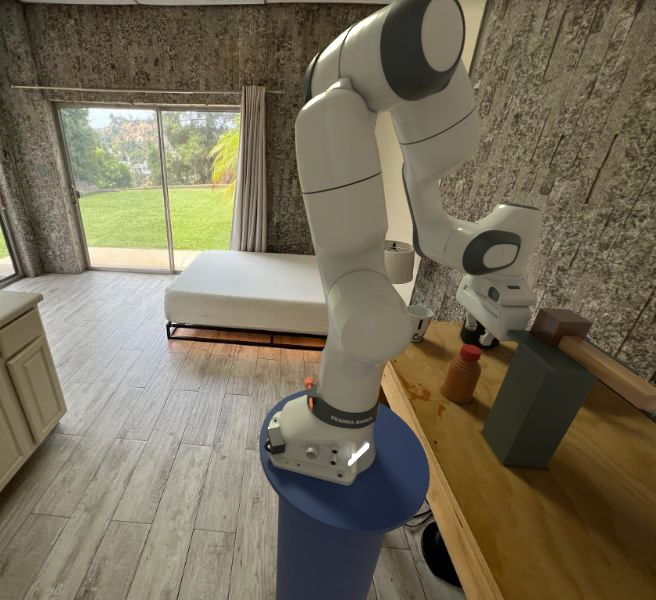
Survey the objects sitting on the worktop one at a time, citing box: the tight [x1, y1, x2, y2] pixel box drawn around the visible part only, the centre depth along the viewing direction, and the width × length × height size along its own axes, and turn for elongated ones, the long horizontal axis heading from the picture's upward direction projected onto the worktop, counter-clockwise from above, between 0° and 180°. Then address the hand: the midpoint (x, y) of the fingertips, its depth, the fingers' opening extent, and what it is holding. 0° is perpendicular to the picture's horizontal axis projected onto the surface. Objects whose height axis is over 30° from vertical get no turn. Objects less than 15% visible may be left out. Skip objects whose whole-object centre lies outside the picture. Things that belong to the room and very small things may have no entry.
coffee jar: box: [459, 315, 501, 351], centre depth 99 cm, size 11×11×18 cm
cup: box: [406, 305, 434, 343], centre depth 103 cm, size 8×8×10 cm
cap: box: [459, 343, 483, 362], centre depth 75 cm, size 4×4×2 cm
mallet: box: [529, 307, 656, 411], centre depth 49 cm, size 5×20×5 cm, turn 174°
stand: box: [481, 329, 640, 469], centre depth 60 cm, size 12×12×26 cm
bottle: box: [441, 355, 482, 405], centre depth 78 cm, size 6×6×14 cm
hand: (476, 336), depth 74 cm, fingers open, 5 cm apart
